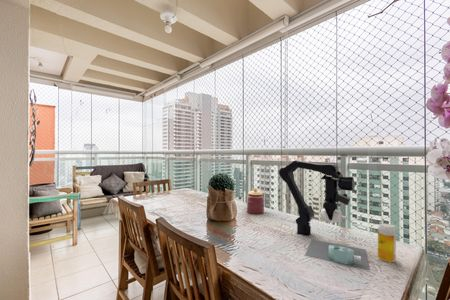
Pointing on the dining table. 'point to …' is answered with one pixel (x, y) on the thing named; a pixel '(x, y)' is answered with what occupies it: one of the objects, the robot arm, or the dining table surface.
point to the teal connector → (342, 255)
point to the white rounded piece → (336, 216)
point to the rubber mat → (322, 252)
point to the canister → (255, 202)
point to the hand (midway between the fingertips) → (331, 218)
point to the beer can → (386, 242)
